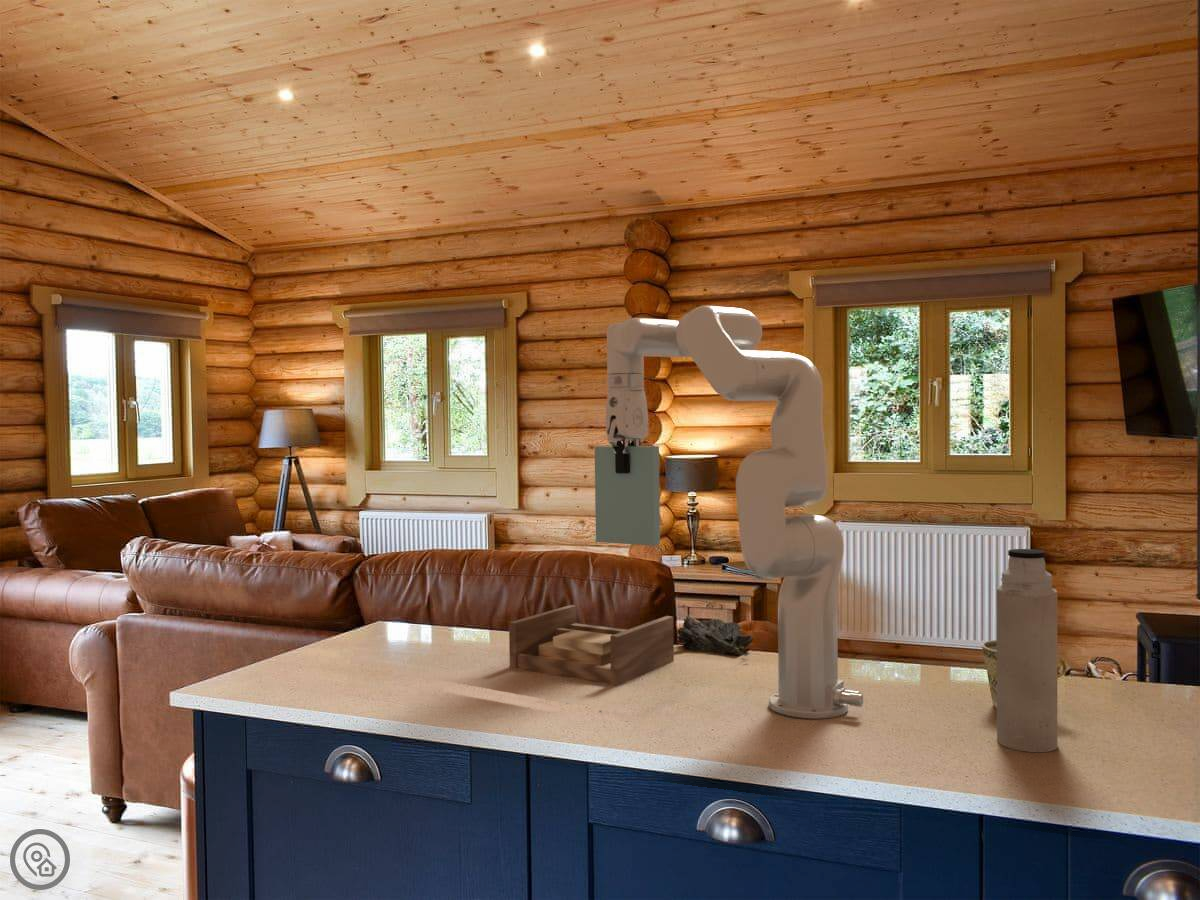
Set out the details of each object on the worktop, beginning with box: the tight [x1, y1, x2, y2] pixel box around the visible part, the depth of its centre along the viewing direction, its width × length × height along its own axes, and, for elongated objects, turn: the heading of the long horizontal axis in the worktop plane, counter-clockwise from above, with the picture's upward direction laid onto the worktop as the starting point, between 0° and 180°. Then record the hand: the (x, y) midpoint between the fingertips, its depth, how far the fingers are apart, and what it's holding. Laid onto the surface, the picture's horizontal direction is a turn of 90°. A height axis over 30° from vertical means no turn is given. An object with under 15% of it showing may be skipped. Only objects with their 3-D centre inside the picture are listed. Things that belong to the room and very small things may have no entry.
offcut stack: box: [539, 630, 611, 667], centre depth 176 cm, size 16×9×6 cm, turn 57°
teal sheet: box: [594, 445, 661, 547], centre depth 195 cm, size 14×2×20 cm, turn 57°
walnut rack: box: [508, 604, 675, 687], centre depth 179 cm, size 24×20×10 cm
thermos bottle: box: [996, 548, 1059, 753], centre depth 136 cm, size 8×8×28 cm
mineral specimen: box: [675, 613, 755, 657], centre depth 191 cm, size 15×13×10 cm
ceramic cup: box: [981, 639, 1067, 709], centre depth 152 cm, size 13×10×10 cm
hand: (626, 472), depth 195 cm, fingers closed on teal sheet, 2 cm apart
